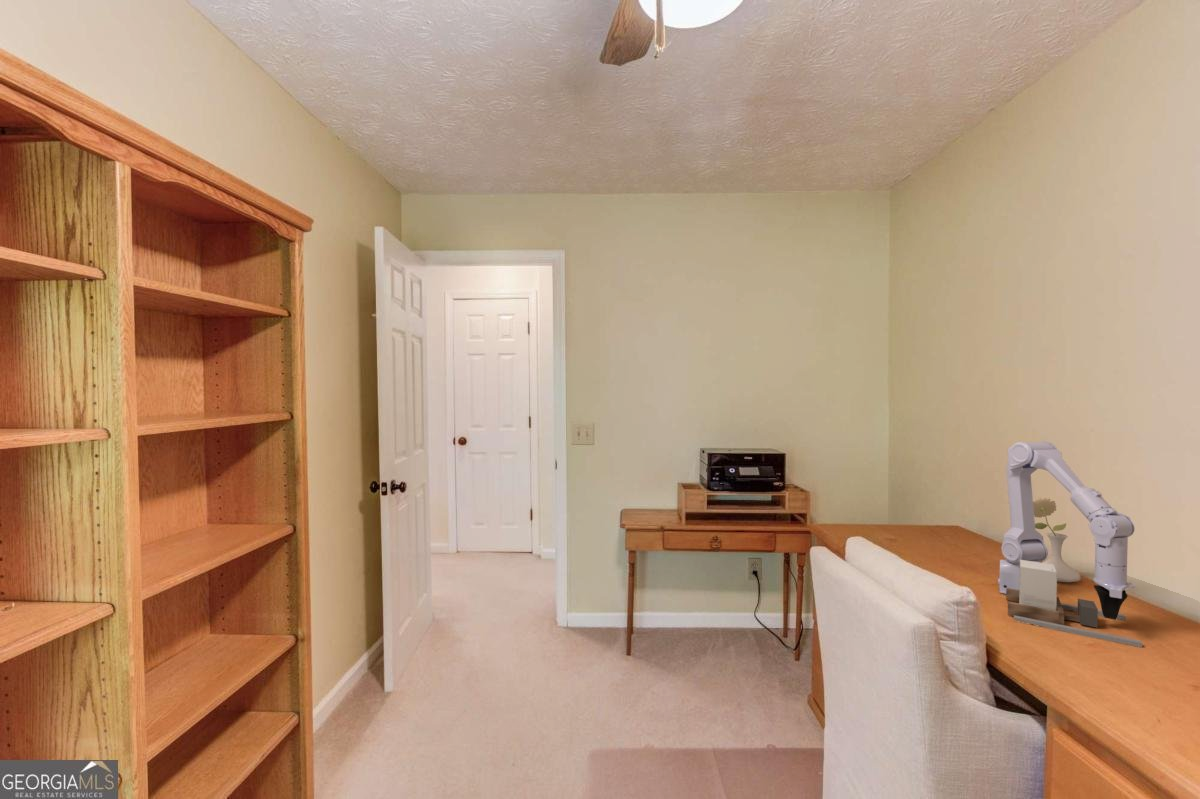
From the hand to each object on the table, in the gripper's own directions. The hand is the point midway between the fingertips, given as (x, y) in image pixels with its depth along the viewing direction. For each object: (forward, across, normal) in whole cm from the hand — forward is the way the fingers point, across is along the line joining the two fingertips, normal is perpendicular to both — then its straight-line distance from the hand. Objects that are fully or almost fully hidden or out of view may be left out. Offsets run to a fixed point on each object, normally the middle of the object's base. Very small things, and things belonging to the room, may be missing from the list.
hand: (1109, 617), depth 130 cm
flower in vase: (+3, +36, +8) cm, 37 cm away
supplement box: (+3, +1, +14) cm, 14 cm away
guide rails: (+2, 0, +7) cm, 8 cm away
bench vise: (+2, 0, +11) cm, 12 cm away
